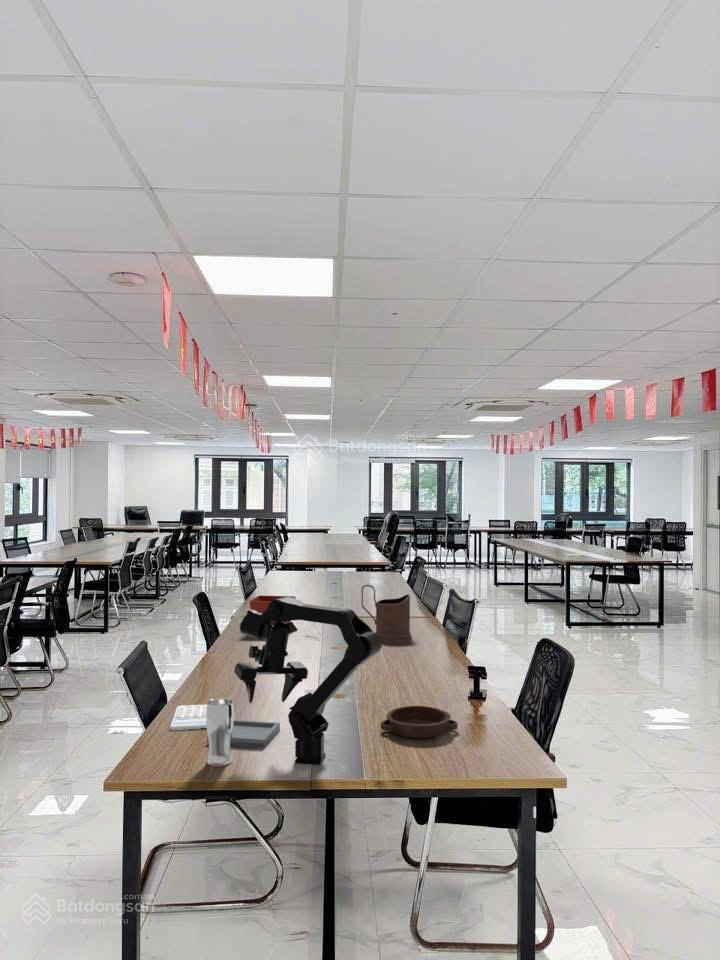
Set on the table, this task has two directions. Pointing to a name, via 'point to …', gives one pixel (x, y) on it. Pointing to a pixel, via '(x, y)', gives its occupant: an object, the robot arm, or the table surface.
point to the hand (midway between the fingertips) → (266, 702)
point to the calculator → (189, 717)
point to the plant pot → (264, 603)
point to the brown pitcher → (392, 618)
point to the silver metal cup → (219, 730)
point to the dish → (418, 722)
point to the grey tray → (253, 733)
